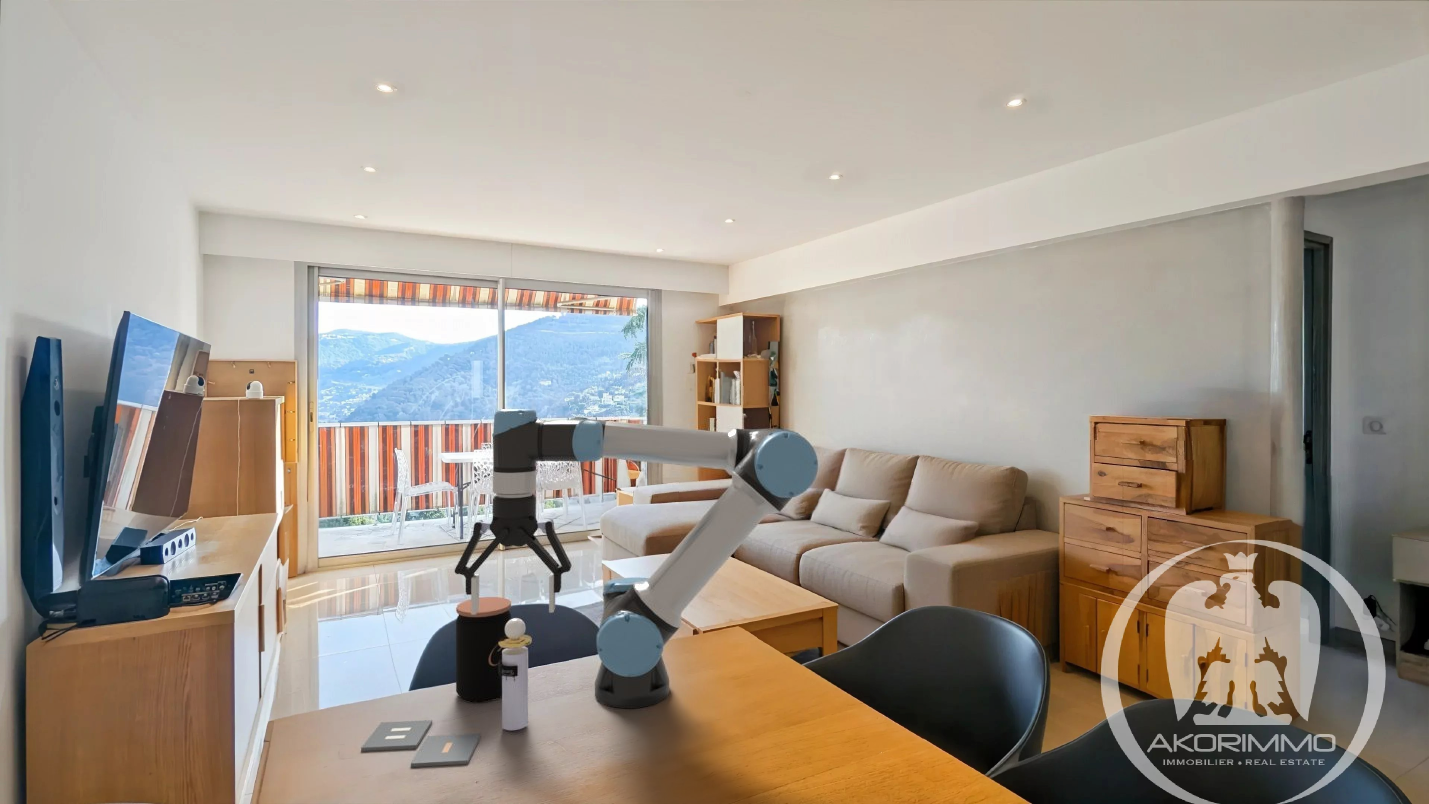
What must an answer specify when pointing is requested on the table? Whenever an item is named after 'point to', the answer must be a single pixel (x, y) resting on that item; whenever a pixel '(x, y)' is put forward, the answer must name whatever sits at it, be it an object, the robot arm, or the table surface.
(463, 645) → the coffee jar
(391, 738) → the slate code tile
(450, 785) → the table surface
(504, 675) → the perfume bottle
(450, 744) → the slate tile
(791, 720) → the table surface
